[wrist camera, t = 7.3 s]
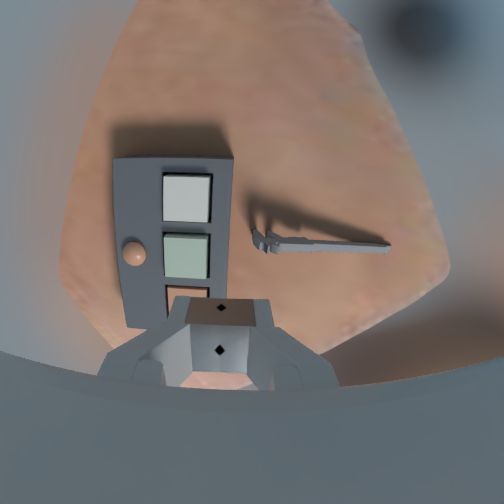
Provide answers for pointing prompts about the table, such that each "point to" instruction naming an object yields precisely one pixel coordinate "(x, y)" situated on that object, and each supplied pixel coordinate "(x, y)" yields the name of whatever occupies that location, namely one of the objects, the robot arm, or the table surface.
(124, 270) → the button panel
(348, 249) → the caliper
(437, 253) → the table surface
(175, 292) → the terracotta button
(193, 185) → the white button
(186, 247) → the sage button
